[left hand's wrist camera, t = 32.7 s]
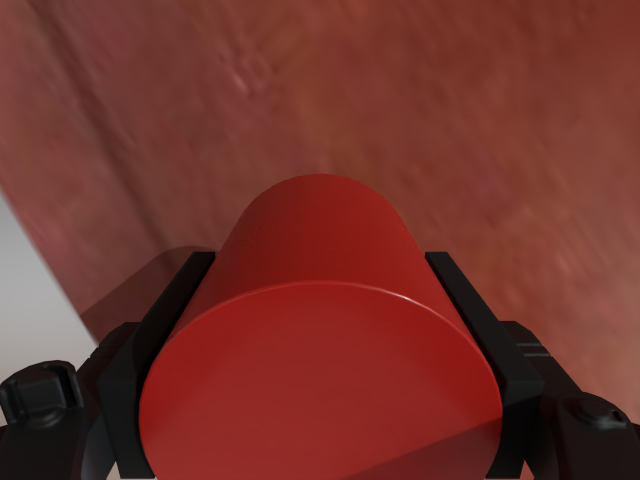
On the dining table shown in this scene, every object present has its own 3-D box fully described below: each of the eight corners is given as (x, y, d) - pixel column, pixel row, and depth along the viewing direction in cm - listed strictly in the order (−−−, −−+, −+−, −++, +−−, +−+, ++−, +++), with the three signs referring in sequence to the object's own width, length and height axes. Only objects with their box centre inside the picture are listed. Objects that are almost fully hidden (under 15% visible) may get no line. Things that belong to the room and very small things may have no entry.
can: (439, 203, 15) (574, 338, 7) (376, 355, 18) (422, 579, 10) (250, 149, 14) (164, 231, 6) (213, 316, 17) (119, 524, 9)
